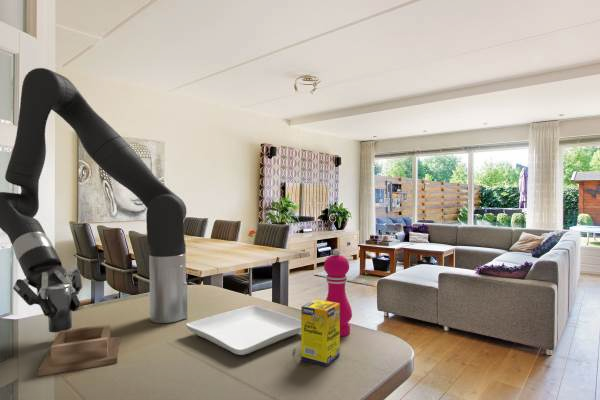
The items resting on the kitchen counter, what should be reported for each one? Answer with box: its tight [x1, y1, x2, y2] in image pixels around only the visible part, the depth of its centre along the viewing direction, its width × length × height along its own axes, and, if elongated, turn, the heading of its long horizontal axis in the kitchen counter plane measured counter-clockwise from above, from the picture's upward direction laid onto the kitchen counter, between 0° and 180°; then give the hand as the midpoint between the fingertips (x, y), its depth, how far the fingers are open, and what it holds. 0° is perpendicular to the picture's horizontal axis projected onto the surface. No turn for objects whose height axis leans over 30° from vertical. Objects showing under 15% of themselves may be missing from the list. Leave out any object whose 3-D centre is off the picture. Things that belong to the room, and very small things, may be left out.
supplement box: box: [300, 298, 341, 367], centre depth 75 cm, size 6×6×11 cm
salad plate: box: [185, 305, 301, 356], centre depth 87 cm, size 21×21×3 cm
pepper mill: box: [323, 248, 353, 338], centre depth 89 cm, size 7×7×20 cm
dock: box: [37, 323, 120, 377], centre depth 76 cm, size 13×12×4 cm
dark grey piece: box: [47, 282, 73, 333], centre depth 85 cm, size 4×4×10 cm
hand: (64, 311), depth 84 cm, fingers closed on dark grey piece, 4 cm apart
